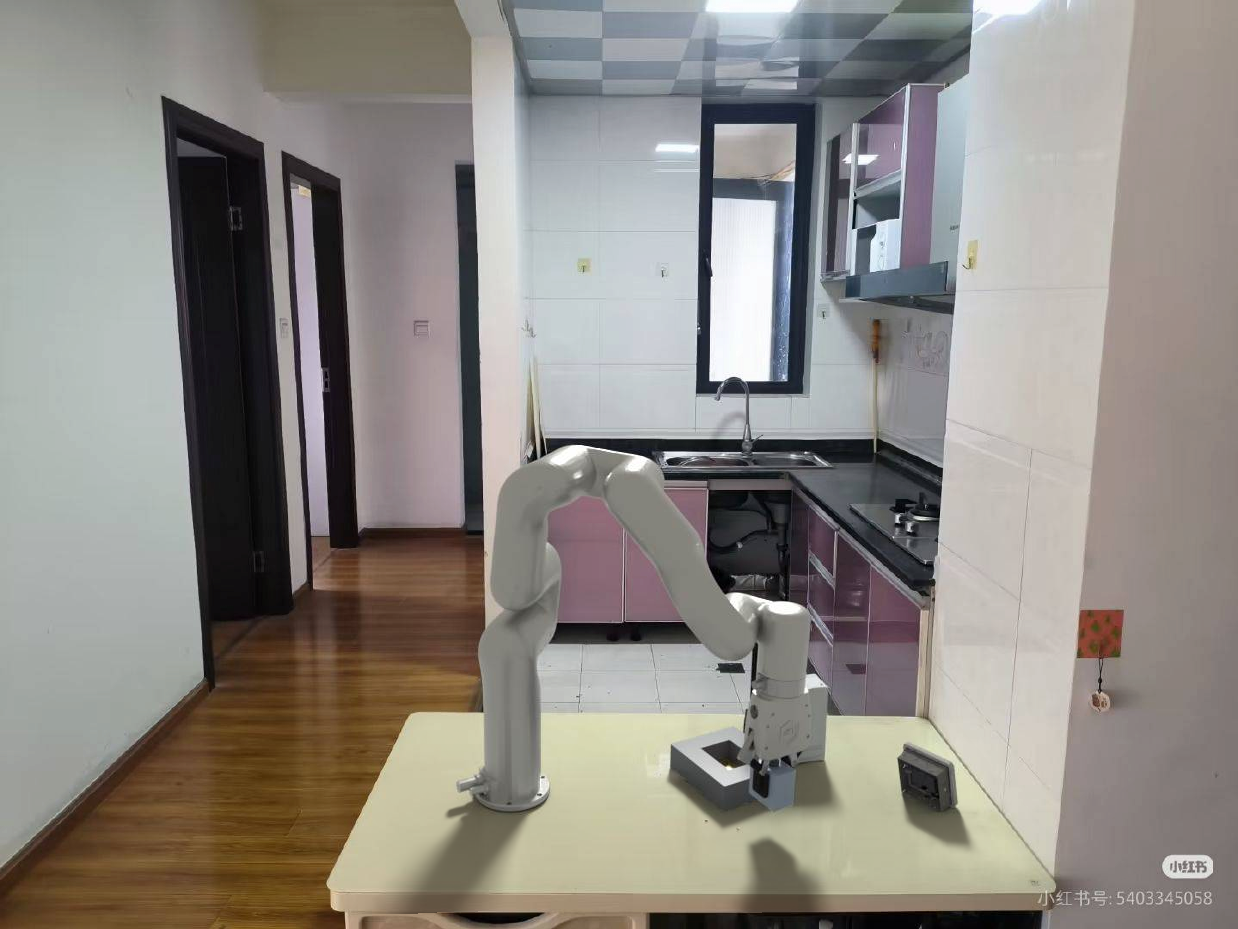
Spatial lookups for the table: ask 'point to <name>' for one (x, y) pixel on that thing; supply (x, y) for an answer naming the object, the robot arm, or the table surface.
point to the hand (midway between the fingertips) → (771, 789)
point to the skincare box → (816, 719)
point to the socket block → (715, 767)
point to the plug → (777, 785)
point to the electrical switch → (927, 777)
